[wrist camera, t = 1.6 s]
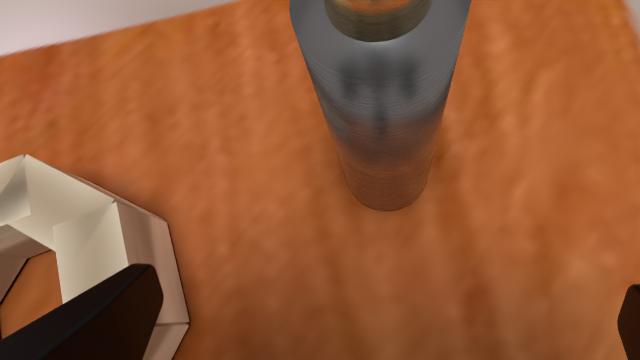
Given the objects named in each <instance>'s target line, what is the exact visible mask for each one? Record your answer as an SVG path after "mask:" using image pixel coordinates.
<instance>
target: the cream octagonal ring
mask: <svg viewBox="0 0 640 360" xmlns="http://www.w3.org/2000/svg"><path fill="white" fill-rule="evenodd" d="M51 249H52V250H54V251H55V252H56V257H57V264H58V271H59V279H60V286H61V293H62V300H63V304H64V303H66V302H67V301H69V300H71V299H72V298H74V297H76V296H78V295H79V294H81V293H83V292H84V291H86V290H88V289H90V288H91V287H93V286H95V285H96V284H98V283H100V282H102V281H103V280H105V279H107V278H108V277H110V276H112V275H114V274H115V273H117V272H119V271H120V270H122V269H124V268H126V267H127V266H129V265H131V264H133V263H147V264H152V265H153V266H154V267H155V269H156V271H157V274H158V278H159V281H160V284H161V287H162V290H163V294H164V301H163V305H162V308H161V311H160V314H159V317H158V319H157V322H156V325H155V327H154V330H153V333H152V336H151V338H150V341H149V344H148V347H147V349H146V352H145V355H144V357H143V360H171V359H172V357H173V355H174V353H175V351H176V350H177V348H178V346H179V344H180V342H181V340H182V338H183V336H184V334H185V332H186V330H187V328H188V327H189V325H188V324H186V323H187V322H190V321H189V317H188V312H187V308H186V304H185V299H184V295H183V291H182V286H181V282H180V277H179V273H178V269H177V264H176V260H175V256H174V251H173V247H172V243H171V238H170V234H169V229H168V225H167V222H165V220H164V219H162V218H160V217H158V216H156V215H154V214H152V213H150V212H148V211H146V210H144V209H142V208H140V207H139V206H137V205H135V204H133V203H131V202H129V201H127V200H125V199H123V198H121V197H119V196H117V195H115V194H113V193H111V192H109V191H107V190H105V189H103V188H101V187H99V186H97V185H95V184H93V183H91V182H89V181H87V180H84V179H82V178H80V177H78V176H75V175H73V174H71V173H68V172H66V171H64V170H61V169H59V168H57V167H55V166H52V165H50V164H48V163H45V162H43V161H41V160H38V159H36V158H34V157H32V156H29V155H27V154H26V155H24V154H23V155H20V156H18V157H15V158H13V159H10V160H8V161H5V162H2V163H0V302H1V300H2V298H3V297H4V295H5V293H6V292H7V290H8V289H9V287H10V285H11V284H12V282H13V280H14V279H15V277H16V275H17V274H18V272H19V271H20V269H21V267H22V266H23V264H24V262H25V261H26V259H27V258H30V257H32V256H35V255H38V254H40V253H43V252H45V251H48V250H51Z"/></svg>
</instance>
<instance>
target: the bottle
mask: <svg viewBox="0 0 640 360" xmlns="http://www.w3.org/2000/svg"><path fill="white" fill-rule="evenodd" d="M470 4H471V0H290V9H289V10H290V17H291V22H292V25H293V28H294V31H295V34H296V37H297V40H298V43H299V45H300V48H301V51H302V54H303V57H304V60H305V63H306V65H307V68H308V71H309V74H310V77H311V80H312V83H313V85H314V88H315V91H316V94H317V97H318V100H319V103H320V105H321V108H322V111H323V114H324V117H325V120H326V123H327V125H328V128H329V131H330V134H331V137H332V140H333V143H334V145H335V148H336V151H337V154H338V157H339V160H340V163H341V165H342V168H343V171H344V174H345V177H346V180H347V183H348V185H349V188H350V190H351V191H352V193H353V195H354V196H355V197H356V198H357V199H358V200H359V201H360V202H361V203H363V204H364V205H366V206H368V207H370V208H373V209H376V210H382V211H392V210H397V209H400V208H403V207H405V206H407V205H409V204H411V203H412V202H413V201H414V200H416V199H417V197H418V196H419V195H420V194H421V192H422V191H423V189H424V187H425V184H426V181H427V177H428V173H429V169H430V165H431V161H432V157H433V153H434V149H435V145H436V141H437V137H438V133H439V129H440V125H441V121H442V117H443V113H444V109H445V105H446V101H447V97H448V93H449V89H450V85H451V81H452V77H453V73H454V69H455V65H456V61H457V57H458V53H459V49H460V45H461V41H462V37H463V33H464V29H465V25H466V21H467V17H468V13H469V8H470Z"/></svg>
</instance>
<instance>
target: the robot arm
mask: <svg viewBox="0 0 640 360" xmlns="http://www.w3.org/2000/svg"><path fill="white" fill-rule="evenodd" d="M163 301H164V294H163V290H162V287H161V284H160V281H159V278H158V274H157V271H156V269H155V267H154V266H153V265H152V264H147V263H133V264H131V265H129V266H127V267H126V268H124V269H122V270H120V271H119V272H117V273H115V274H114V275H112V276H110V277H108V278H107V279H105V280H103V281H102V282H100V283H98V284H96V285H95V286H93V287H91V288H90V289H88V290H86V291H84V292H83V293H81V294H79V295H78V296H76V297H74V298H72V299H71V300H69V301H67V302H66V303H64V304H62V305H60V306H59V307H57V308H55V309H54V310H52V311H50V312H48V313H47V314H45V315H43V316H42V317H40V318H38V319H36V320H35V321H33V322H31V323H30V324H28V325H26V326H24V327H23V328H21V329H19V330H18V331H16V332H14V333H12V334H11V335H9V336H7V337H6V338H4V339H2V340H0V360H143V357H144V355H145V352H146V349H147V347H148V344H149V341H150V338H151V336H152V333H153V330H154V327H155V325H156V322H157V319H158V317H159V314H160V311H161V308H162V305H163ZM618 331H619V334H620V337H621V340H622V343H623V346H624V349H625V352H626V355H627V358H628V360H640V284H633V285H631V286H630V287H629V288H628V290H627V292H626V295H625V298H624V301H623V304H622V307H621V310H620V313H619V316H618Z"/></svg>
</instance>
